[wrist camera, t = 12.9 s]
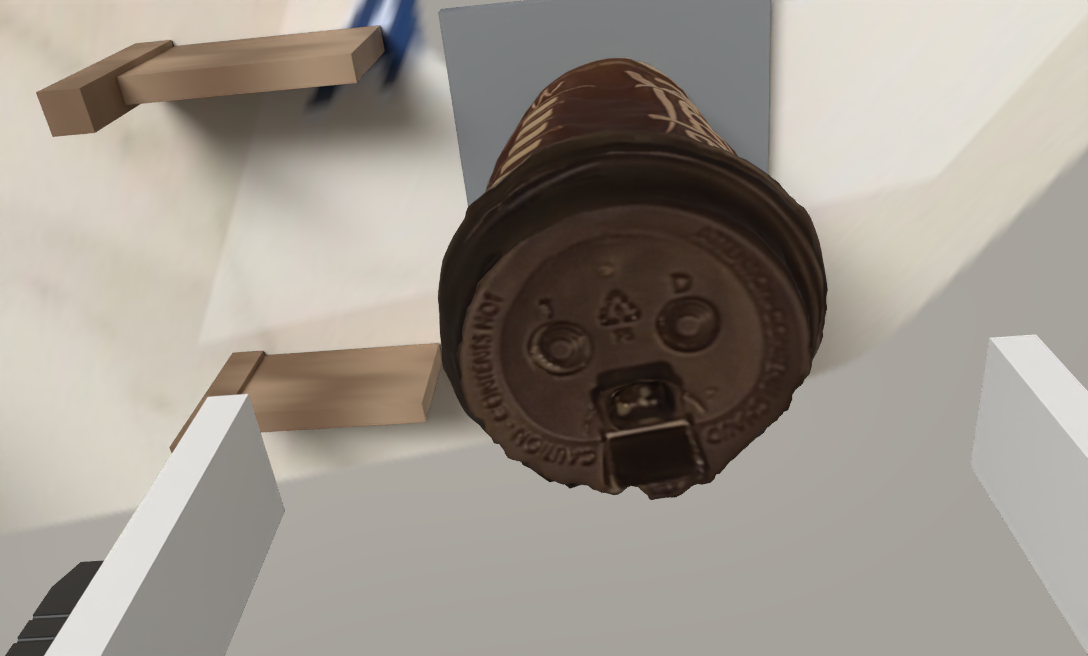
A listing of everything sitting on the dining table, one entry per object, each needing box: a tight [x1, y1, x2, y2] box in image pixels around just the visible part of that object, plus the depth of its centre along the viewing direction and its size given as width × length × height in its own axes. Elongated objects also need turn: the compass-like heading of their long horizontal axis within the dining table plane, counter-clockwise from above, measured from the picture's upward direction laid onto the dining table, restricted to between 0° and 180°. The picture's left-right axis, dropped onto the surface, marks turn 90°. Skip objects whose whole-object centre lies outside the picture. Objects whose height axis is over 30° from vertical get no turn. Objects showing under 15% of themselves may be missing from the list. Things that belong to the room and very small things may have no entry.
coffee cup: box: [438, 58, 828, 500], centre depth 24 cm, size 9×8×13 cm
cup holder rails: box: [36, 25, 442, 453], centre depth 29 cm, size 8×13×6 cm, turn 6°
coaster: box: [438, 0, 771, 206], centre depth 30 cm, size 10×10×1 cm
